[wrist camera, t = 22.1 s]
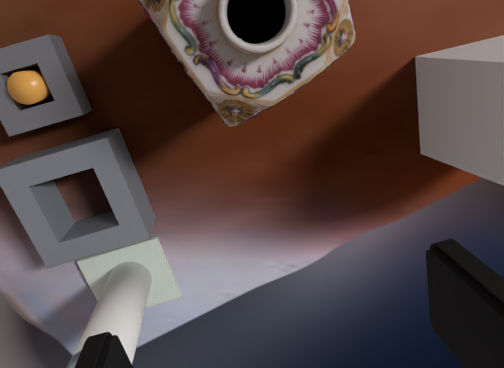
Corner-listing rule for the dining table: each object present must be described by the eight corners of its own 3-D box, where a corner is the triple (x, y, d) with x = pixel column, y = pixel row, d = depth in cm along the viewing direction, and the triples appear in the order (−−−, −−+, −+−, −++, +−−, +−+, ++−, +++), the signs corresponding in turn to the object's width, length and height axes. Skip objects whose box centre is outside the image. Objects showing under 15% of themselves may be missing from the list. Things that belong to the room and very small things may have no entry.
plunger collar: (-14, 57, 36) (-33, 57, 33) (60, 35, 36) (47, 34, 34) (23, 130, 39) (9, 136, 36) (92, 110, 39) (83, 114, 36)
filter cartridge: (100, 268, 45) (47, 376, 30) (143, 255, 45) (111, 356, 30) (118, 303, 47) (75, 421, 32) (159, 290, 47) (136, 402, 32)
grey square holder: (17, 157, 40) (-8, 171, 35) (118, 127, 40) (106, 137, 35) (64, 245, 44) (47, 268, 39) (156, 218, 44) (149, 238, 39)
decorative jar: (222, 107, 40) (232, 148, 24) (155, 9, 37) (109, -25, 20) (314, 43, 39) (393, 39, 22) (255, -65, 35) (296, -170, 18)
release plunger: (19, 74, 37) (0, 76, 34) (47, 65, 37) (32, 67, 34) (33, 103, 38) (16, 108, 35) (61, 95, 38) (47, 99, 35)
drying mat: (78, 259, 45) (76, 262, 44) (157, 236, 45) (156, 238, 44) (107, 316, 48) (106, 319, 47) (181, 294, 48) (181, 297, 47)
